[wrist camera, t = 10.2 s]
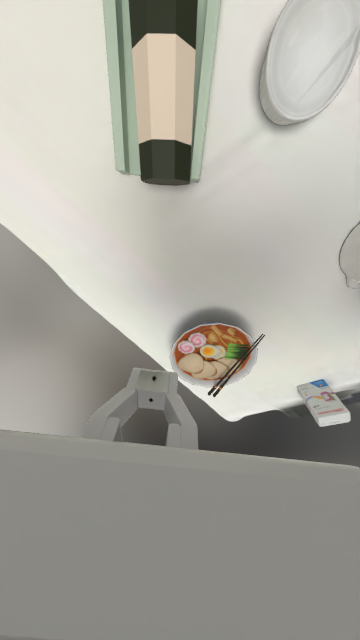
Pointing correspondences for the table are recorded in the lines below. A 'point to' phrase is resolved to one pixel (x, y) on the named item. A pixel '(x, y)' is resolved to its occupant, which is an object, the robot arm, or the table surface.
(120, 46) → the tray
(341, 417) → the ink box
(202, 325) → the ramen bowl
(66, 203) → the table surface
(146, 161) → the wine bottle
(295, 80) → the ramekin
